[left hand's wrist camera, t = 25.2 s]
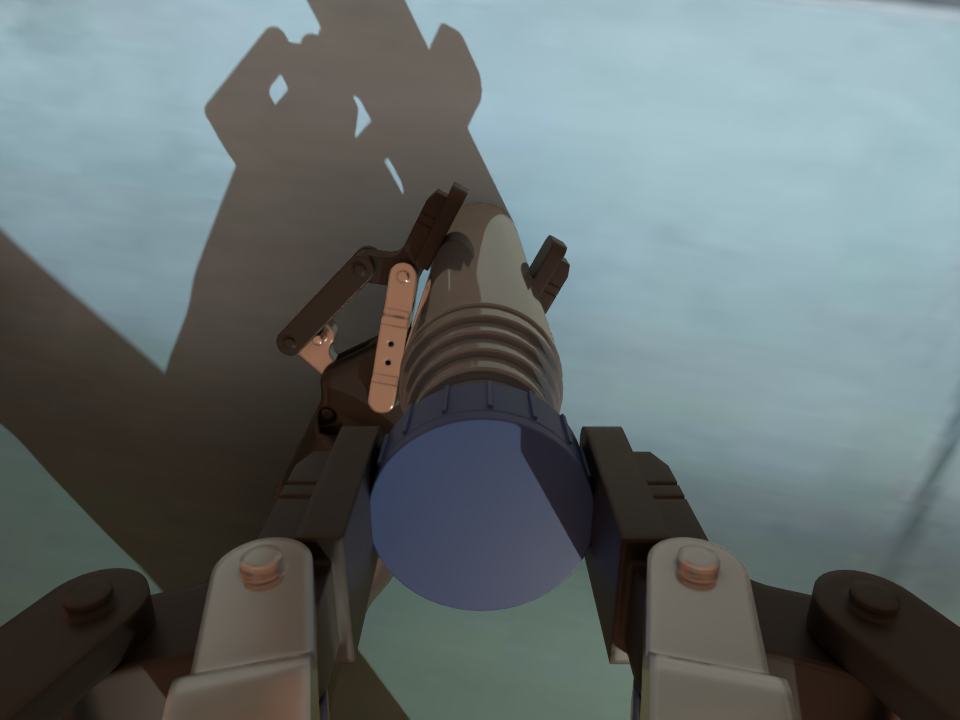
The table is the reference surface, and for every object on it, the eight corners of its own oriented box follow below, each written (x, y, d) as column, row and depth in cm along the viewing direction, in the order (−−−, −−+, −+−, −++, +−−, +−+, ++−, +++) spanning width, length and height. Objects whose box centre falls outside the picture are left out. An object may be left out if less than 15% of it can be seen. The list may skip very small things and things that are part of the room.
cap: (523, 342, 11) (529, 374, 10) (618, 507, 13) (635, 556, 11) (338, 440, 12) (319, 483, 11) (445, 587, 13) (441, 643, 12)
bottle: (443, 200, 34) (363, 383, 11) (521, 205, 34) (615, 397, 11) (439, 277, 36) (363, 586, 12) (515, 282, 36) (584, 598, 12)
